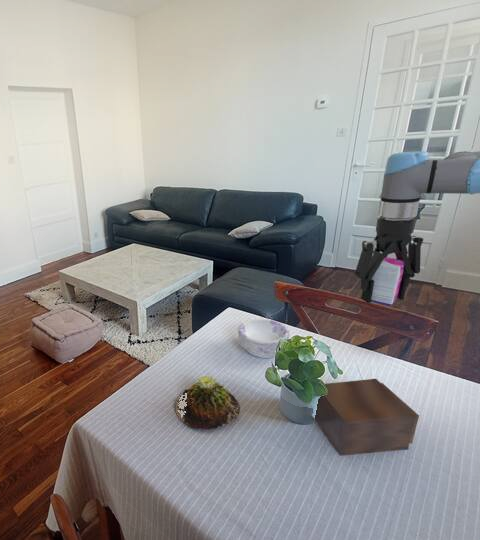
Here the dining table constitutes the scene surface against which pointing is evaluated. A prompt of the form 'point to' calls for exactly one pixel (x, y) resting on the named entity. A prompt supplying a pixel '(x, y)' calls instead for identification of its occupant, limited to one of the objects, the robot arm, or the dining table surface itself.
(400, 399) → the drawer
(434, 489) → the dining table surface
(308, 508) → the dining table surface
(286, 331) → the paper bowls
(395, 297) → the supplement box
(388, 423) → the cabinet
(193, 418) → the cactus
